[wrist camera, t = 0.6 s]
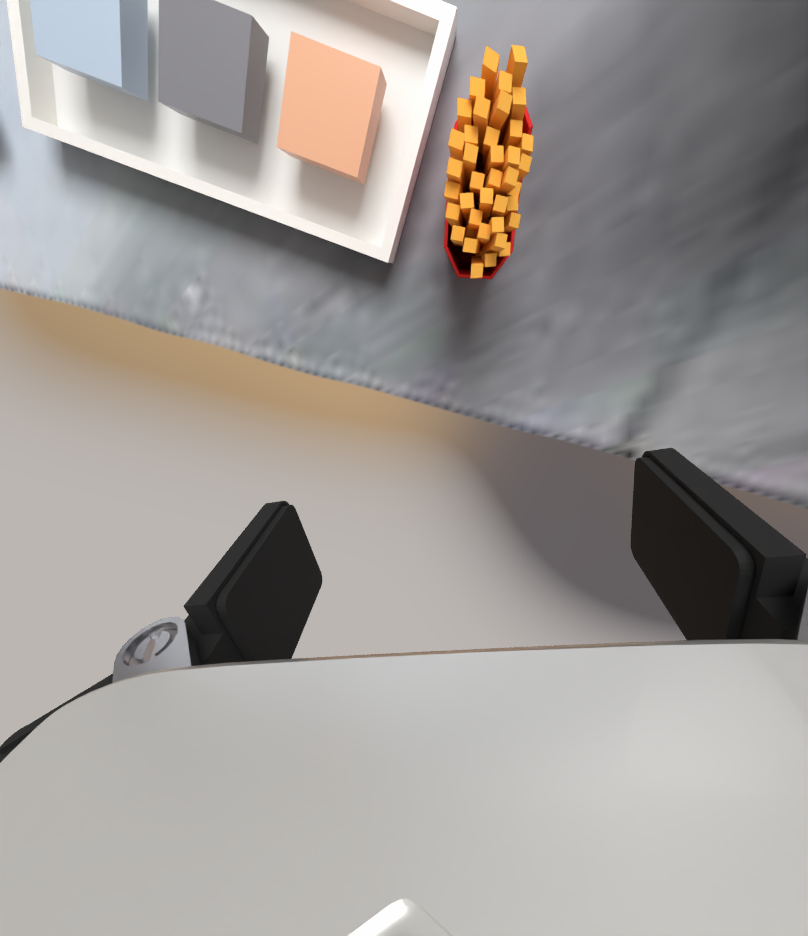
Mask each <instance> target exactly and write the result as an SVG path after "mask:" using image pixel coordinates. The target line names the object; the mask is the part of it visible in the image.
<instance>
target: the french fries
mask: <svg viewBox="0 0 808 936" xmlns="http://www.w3.org/2000/svg"><path fill="white" fill-rule="evenodd" d="M499 58H500V55H499V54H497V53H496V52H494V51H493V50H492V49H490V48H489V47H487V46H486V50H485V55H484V60H483V65H482V77H481V78H477V77H472V76H471V78H470V99H469V100H467V99H462V98H458V119H457V121H456V123H455V126H454V129H453V128H452V129H451V134H450V139H449V144H448V146H449V150H450V153H451V157H449V162H448V168H447V177H448V181H446V187H445V194H444V197H445V198H446V200H447V202H446V215H445V239H444V248H445V250H446V252H447V255H448V257H449V259H450V261H451V263H452V265H453V267H454V270H455V272H456V274H457V276H458V277H463V278H481V279H492V278H493V277H494V275H495V274H496V273H497V271H498V270H499V269H500V267H501V266H502V265H503V263H504V262H505V261H506V259H507V258H508V257H509V255H510V254H511V253H512V252H513V246H514V236H515V229H518V227H519V222H520V218H521V215H520V214H517V211H518V203H519V196H520V190H521V185H522V179H523V177H524V176H525V175H526V174H528V173H529V168H530V164H531V160H532V157H530V154H531V153H532V151H533V138H534V136H532V135H531V133H532V128H533V125H532V122H531V119H530V117H529V114H528V111H527V108H526V88H521V85H522V81H523V78H524V74H525V71H526V67H527V63H528V62H527V57H526V52H525V47H524V46H517V45H512V46H511V50H510V55H509V60H508V65H507V70H506V72H504V71H501V70H500V71H499V74H498V77H497V71H498V65H499ZM496 78H497V81H496Z"/></svg>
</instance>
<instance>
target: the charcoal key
mask: <svg viewBox="0 0 808 936" xmlns="http://www.w3.org/2000/svg"><path fill="white" fill-rule="evenodd" d="M268 44H269V36H268V35H267V34H266V33H265V31H264V30H263V29H262V27H261V26H260V25H259V24H258V22H257V21H256V20H255V19H254V17H253V16H252V15H250V14H247V13H245V12H242V11H240V10H237V9H235V8H232V7H230V6H227V5H225V4H222V3H220V2H217V1H215V0H159V51H158V102H160V103H162V104H164V105H165V106H167V107H169V108H171V109H172V110H174V111H176V112H177V113H179V114H181V115H183V116H186V117H189V118H191V119H194V120H196V121H199V122H202V123H204V124H207V125H210V126H212V127H215V128H217V129H220V130H223V131H225V132H228V133H230V134H233V135H236V136H238V137H241V138H244V139H246V140H249V141H251V142H254V143H257V144H258V138H259V129H260V119H261V110H262V101H263V91H264V82H265V72H266V63H267V54H268Z"/></svg>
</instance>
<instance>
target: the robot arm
mask: <svg viewBox="0 0 808 936" xmlns="http://www.w3.org/2000/svg"><path fill="white" fill-rule="evenodd" d="M631 550H632V553H633V556H634V558H635V560H636V561H637V563H638V564H639V566H640V568H641V569H642V571H643V572H644V574H645V575H646V577H647V578H648V580H649V582H650V583H651V585H652V586H653V588H654V589H655V591H656V593H657V594H658V596H659V597H660V599H661V600H662V602H663V603H664V605H665V607H666V608H667V610H668V611H669V613H670V614H671V616H672V618H673V619H674V621H675V622H676V624H677V625H678V627H679V628H680V630H681V632H682V633H683V635H684V636H685V638H686V639H687V640H683V641H663V642H662V641H661V642H631V643H630V642H628V643H605V644H582V645H559V646H538V647H515V648H492V649H473V650H453V651H431V652H411V653H391V654H371V655H353V656H335V657H317V658H299V659H291V658H292V656H293V653H294V651H295V648H296V646H297V644H298V641H299V639H300V636H301V634H302V631H303V629H304V626H305V624H306V622H307V619H308V617H309V614H310V612H311V609H312V607H313V604H314V602H315V600H316V597H317V595H318V593H319V590H320V588H321V585H322V575H321V571H320V569H319V566H318V564H317V561H316V559H315V556H314V554H313V551H312V549H311V546H310V544H309V541H308V539H307V536H306V534H305V531H304V529H303V527H302V524H301V522H300V519H299V517H298V514H297V512H296V509H295V508H294V506H293V505H289V504H288V503H287V502H286V501H280V502H273V503H266V504H265V505H264V506H263V507H262V509H261V510H260V511H259V512H258V514H257V515H256V516H255V517H254V518H253V520H252V521H251V522H250V523H249V525H248V526H247V527H246V528H245V530H244V531H243V532H242V534H241V535H240V536H239V537H238V539H237V540H236V541H235V542H234V544H233V545H232V546H231V547H230V549H229V550H228V551H227V552H226V554H225V555H224V556H223V557H222V559H221V560H220V561H219V562H218V564H217V565H216V566H215V568H214V569H213V570H212V571H211V572H210V574H209V575H208V576H207V578H206V579H205V580H204V581H203V583H202V584H201V585H200V586H199V587H198V589H197V590H196V591H195V593H194V594H193V595H192V596H191V597H190V599H189V600H188V601H187V603H186V604H185V605H184V608H185V609H186V611H187V612H188V614H189V616H188V617H187V618H186V619H185V621H184V620H183V619H181V618H178V617H168V618H164V619H160V620H158V621H156V622H154V623H151V624H149V625H148V626H146V627H145V628H143V629H141V630H140V631H139V632H138V633H136V634H135V635H134V636H132V637H131V638H130V639H129V640H128V641H127V642H126V643H125V644H124V646H122V648H121V649H120V651H119V653H118V654H117V656H116V659H115V662H114V671H113V674H111V675H110V676H108V677H106V678H105V679H103V680H102V681H100V682H98V683H97V684H95V685H93V686H92V687H90V688H88V689H87V690H85V691H83V692H82V693H80V694H78V695H77V696H75V697H73V698H72V699H70V700H68V701H67V702H65V703H63V704H62V705H60V706H58V707H57V708H55V709H54V710H52V711H50V712H49V713H47V714H45V715H44V716H42V717H40V718H39V719H37V720H35V721H34V722H32V723H31V724H29V725H27V726H25V727H23V728H21V729H20V730H18V731H17V732H15V733H14V734H13V735H12V736H11V737H9V738H8V739H7V740H6V741H5V742H4V743H3V744H2V745H1V747H0V936H808V559H807V558H806V554H805V553H804V552H803V551H802V550H800V549H799V548H798V547H797V546H795V545H794V544H793V543H791V542H790V541H789V540H788V539H786V538H785V537H784V536H783V535H781V534H780V533H779V532H778V531H776V530H775V529H774V528H773V527H771V526H770V525H769V524H768V523H766V522H765V521H764V520H763V519H761V518H760V517H759V516H758V515H756V514H755V513H754V512H752V511H751V510H750V509H749V508H748V507H746V506H745V505H744V504H743V503H741V502H740V501H739V500H737V499H736V498H735V497H734V496H733V495H731V494H730V493H729V492H727V491H726V490H725V489H724V488H722V487H721V486H720V485H719V484H717V483H716V482H715V481H714V480H712V479H711V478H710V477H709V476H707V475H706V474H705V473H704V472H702V471H701V470H700V469H699V468H697V467H696V466H695V465H694V464H692V463H691V462H690V461H689V460H687V459H686V458H685V457H684V456H682V455H681V454H680V453H679V452H677V451H676V450H675V449H673V448H667V449H660V450H653V451H646V452H644V454H643V456H642V458H637V459H636V461H635V472H634V491H633V510H632V529H631Z"/></svg>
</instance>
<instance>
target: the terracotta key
mask: <svg viewBox="0 0 808 936" xmlns="http://www.w3.org/2000/svg"><path fill="white" fill-rule="evenodd" d="M386 86H387V83H386V80H385V77H384V74H383V72H382V69H381V67H380V66H377V65H375V64H372V63H370V62H367V61H365V60H362V59H360V58H357V57H355V56H352V55H350V54H347V53H345V52H342V51H340V50H337V49H335V48H332V47H330V46H327V45H325V44H322V43H320V42H317V41H315V40H312V39H310V38H307V37H305V36H302V35H300V34H297V33H295V32H292V31H291V36H290V44H289V52H288V60H287V68H286V76H285V84H284V92H283V100H282V108H281V116H280V124H279V132H278V140H277V147H278V148H279V149H280V150H282V151H283V152H285V153H286V154H288V155H289V156H291V157H293V158H296V159H298V160H301V161H304V162H306V163H309V164H312V165H314V166H317V167H319V168H322V169H325V170H327V171H330V172H332V173H335V174H338V175H340V176H343V177H346V178H348V179H351V180H353V181H356V182H359V183H361V184H364V185H365V180H366V176H367V171H368V167H369V162H370V158H371V153H372V149H373V144H374V140H375V135H376V131H377V126H378V122H379V117H380V113H381V108H382V104H383V99H384V95H385V90H386Z"/></svg>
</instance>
